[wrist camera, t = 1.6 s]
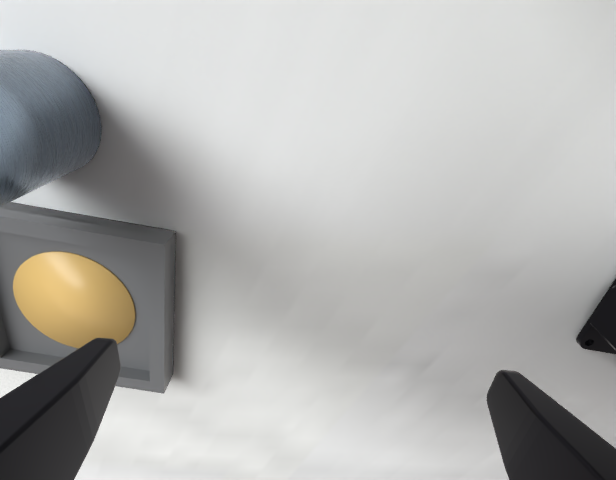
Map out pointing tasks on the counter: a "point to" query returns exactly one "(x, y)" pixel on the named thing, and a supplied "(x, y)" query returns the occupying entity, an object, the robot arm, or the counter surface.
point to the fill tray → (86, 292)
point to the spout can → (42, 122)
